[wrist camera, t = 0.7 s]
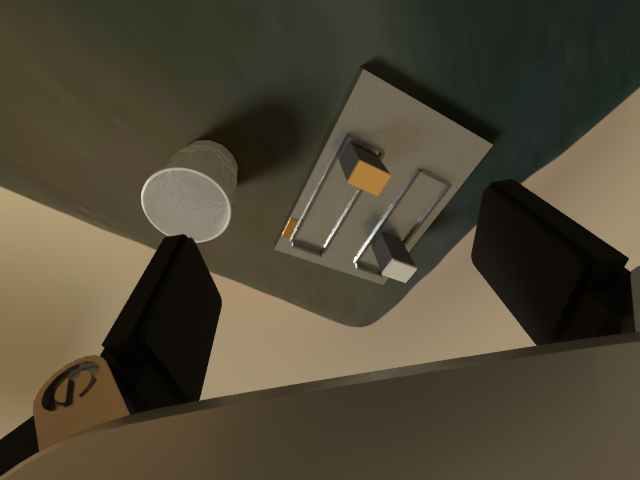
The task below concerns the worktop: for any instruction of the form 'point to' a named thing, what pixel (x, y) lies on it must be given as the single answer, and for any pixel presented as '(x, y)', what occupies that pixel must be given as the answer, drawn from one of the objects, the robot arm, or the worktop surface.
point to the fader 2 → (393, 258)
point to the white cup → (193, 192)
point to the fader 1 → (364, 169)
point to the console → (398, 193)
